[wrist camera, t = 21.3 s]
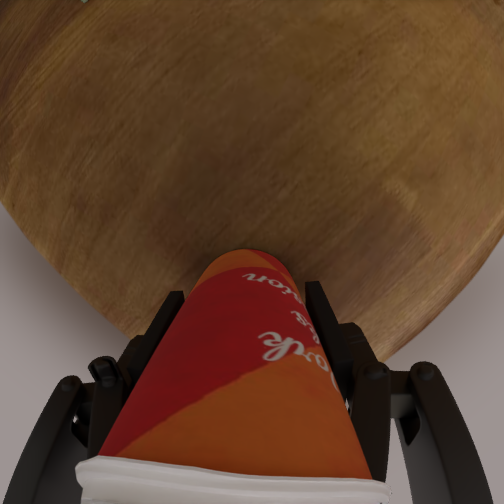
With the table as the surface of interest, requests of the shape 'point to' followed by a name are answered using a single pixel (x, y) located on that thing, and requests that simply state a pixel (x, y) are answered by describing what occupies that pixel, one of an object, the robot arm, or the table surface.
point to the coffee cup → (235, 405)
